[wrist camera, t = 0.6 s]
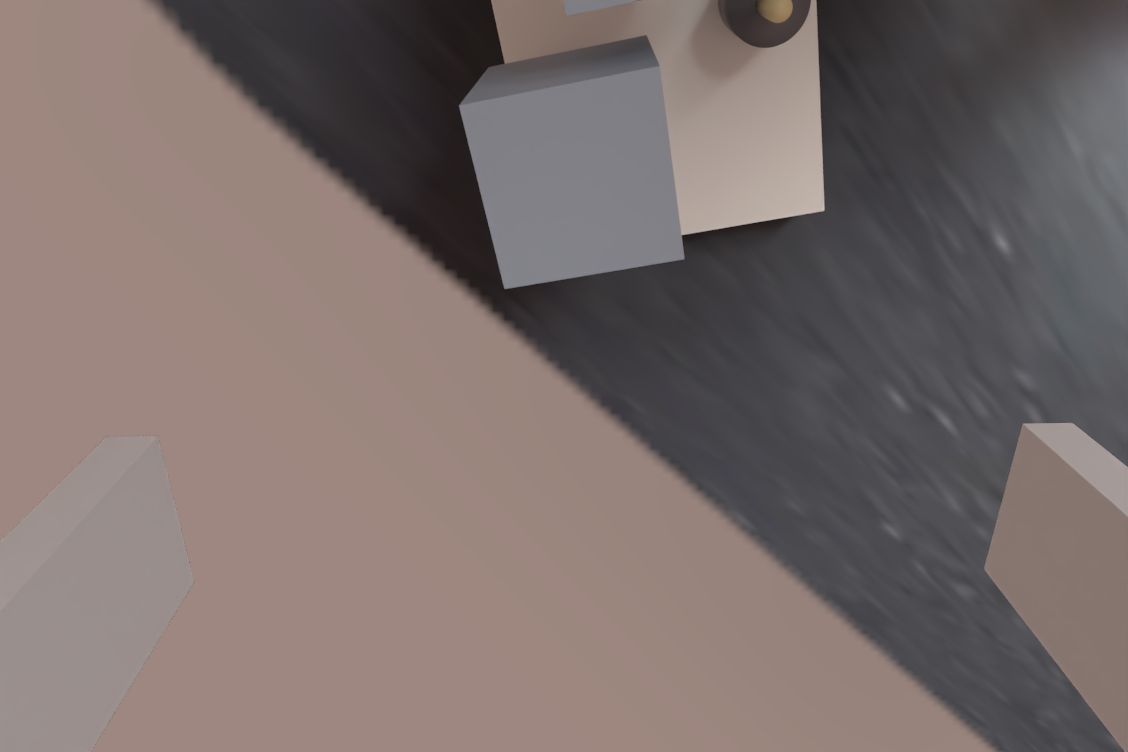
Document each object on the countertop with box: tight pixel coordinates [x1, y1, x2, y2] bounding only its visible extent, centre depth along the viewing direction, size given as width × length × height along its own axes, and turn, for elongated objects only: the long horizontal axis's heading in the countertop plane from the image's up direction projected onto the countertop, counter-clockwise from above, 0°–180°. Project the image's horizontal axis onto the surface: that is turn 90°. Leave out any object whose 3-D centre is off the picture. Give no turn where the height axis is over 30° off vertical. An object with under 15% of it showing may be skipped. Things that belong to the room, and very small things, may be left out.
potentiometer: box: [718, 0, 811, 48], centre depth 26 cm, size 3×3×4 cm
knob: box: [459, 35, 685, 289], centre depth 24 cm, size 5×5×6 cm
